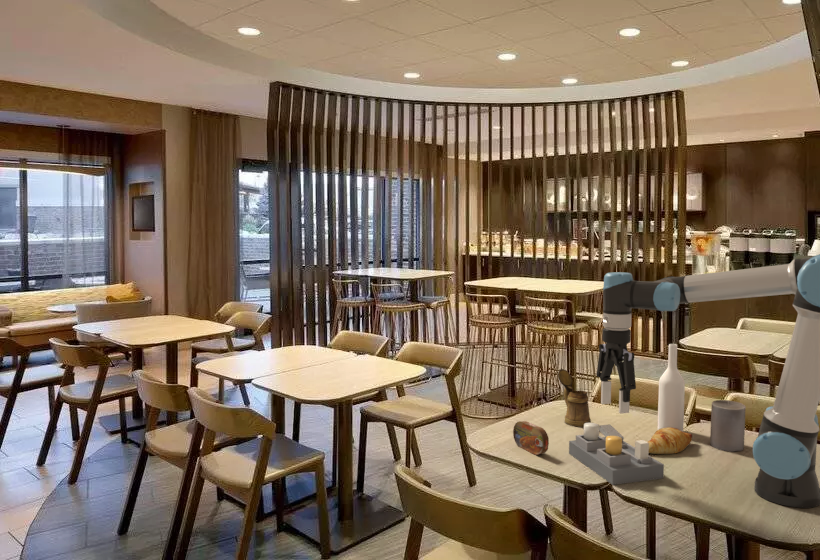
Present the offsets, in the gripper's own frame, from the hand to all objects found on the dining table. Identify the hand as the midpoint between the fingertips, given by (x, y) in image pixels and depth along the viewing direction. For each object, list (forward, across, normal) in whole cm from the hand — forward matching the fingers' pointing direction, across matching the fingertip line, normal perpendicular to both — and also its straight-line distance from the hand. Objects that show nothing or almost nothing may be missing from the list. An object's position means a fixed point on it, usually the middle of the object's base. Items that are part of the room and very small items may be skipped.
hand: (614, 407), depth 177 cm
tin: (+20, -24, -14) cm, 34 cm away
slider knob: (+15, +1, +8) cm, 17 cm away
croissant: (+20, -14, +28) cm, 37 cm away
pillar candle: (+20, -10, +47) cm, 52 cm away
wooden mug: (+20, -46, +13) cm, 52 cm away
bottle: (+20, -27, +39) cm, 51 cm away
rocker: (+13, -14, +8) cm, 21 cm away
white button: (+13, -12, 0) cm, 17 cm away
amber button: (+13, 0, 0) cm, 13 cm away
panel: (+19, -6, +4) cm, 21 cm away
